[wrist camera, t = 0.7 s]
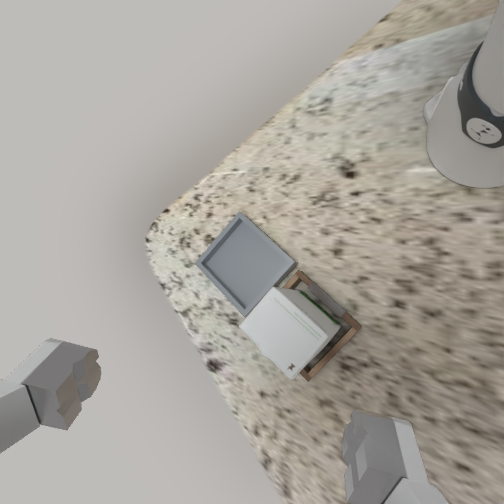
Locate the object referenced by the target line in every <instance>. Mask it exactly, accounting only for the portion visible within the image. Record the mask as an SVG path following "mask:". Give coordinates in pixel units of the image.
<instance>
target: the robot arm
mask: <svg viewBox="0 0 504 504" xmlns="http://www.w3.org/2000/svg"><path fill="white" fill-rule="evenodd" d="M458 72H459V73H458V74H457V75H456V76H455V77H451V78H450V79H449V80H448V81H447V83H446V85H445V87H444V89H443V90H441V91H440V92H439V93H437V94H436V95H435V96H434V97H432V98H431V99H430V100H429V101H428V102H427V103H426V105H425V106H424V109H423V113H424V117H425V120H426V122H427V124H428V133H427V151H428V154H429V157H430V159H431V161H432V163H433V164H434V166H435V167H436V168H437V169H438V171H439V172H441V173H442V174H443V175H444V176H446V177H447V178H449V179H450V180H452V181H454V182H456V183H459V184H462V185H465V186H470V187H476V188H492V187H499V186H504V0H499V1H498V5H497V8H496V11H495V14H494V17H493V19H492V22H491V25H490V27H489V30H488V32H487V35H486V37H485V40H484V41H483V42H482V43H481V44H480V45H479V47H478V48H477V49H476V51H475V52H474V54H473V56H472V57H471V58H470V60H469V61H468V62H465V63H464V64H463V65H462V66H461V67H460V69H459V70H458ZM98 357H99V356H98V351H97V350H96V349H92V348H88V347H84V346H80V345H76V344H72V343H68V342H65V341H60V340H56V339H52V338H50V339H48V340H46V341H44V342H43V343H42V344H41V345H40V346H39V347H38V348H37V349H36V350H35V351H34V352H33V353H31V354H30V355H29V356H28V357H27V358H26V359H25V360H24V361H23V362H22V363H21V364H20V365H19V366H18V367H17V368H16V369H15V370H14V371H13V372H12V373H11V374H10V375H9V376H8V377H6V378H5V379H4V380H2V379H0V453H1V452H3V451H5V450H6V449H7V448H9V447H10V446H12V445H13V444H15V443H16V442H18V441H19V440H21V439H22V438H24V437H25V436H26V435H28V434H29V433H31V432H32V431H34V430H35V429H37V428H38V427H40V424H41V425H45V426H50V427H54V428H59V429H63V430H68V428H69V427H70V425H71V424H72V423H73V421H74V420H75V418H76V417H77V416H78V414H79V413H80V411H81V410H82V407H81V406H82V402H83V401H84V400H86V399H88V398H89V397H91V396H92V394H93V393H94V391H95V390H96V388H97V386H98V383H99V381H100V377H101V367H100V366H99V365H98V363H97V362H96V360H97V359H98ZM351 421H352V422H351V423H349V424H347V425H346V427H345V430H344V433H343V439H342V454H343V459H344V461H345V462H346V464H347V466H348V469H347V471H346V473H345V475H344V477H345V488H346V498H347V502H349V503H353V504H449V502H448V501H447V500H446V499H445V497H444V496H443V495H442V494H441V492H440V491H439V490H438V489H437V487H436V486H434V485H430V484H429V481H428V477H427V474H426V471H425V467H424V464H423V461H422V458H421V454H420V451H419V448H418V445H417V441H416V438H415V435H414V431H413V428H412V425H411V424H410V422H409V421H407V420H403V419H398V418H394V417H389V416H387V415H383V414H378V413H373V412H369V411H364V410H359V409H355V410H354V411H353V413H352V415H351Z"/></svg>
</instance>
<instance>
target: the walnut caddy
mask: <svg viewBox="0 0 504 504" xmlns="http://www.w3.org/2000/svg"><path fill="white" fill-rule="evenodd" d="M301 280H302V281H303V282H304V283H305V284H306V285H307V286H308V289H309V290H310V291H311V292H312V293H313V294H315V295H316V296H317V297H318V298H319V299H320V300H321V301H322V302H323V303H324V304H325V305H326V306H327V307H328V308H330V309H331V310H332V311H333V312H334V313H335V314H336V315H337V316H338V317H339V318H340V317H342V318H343V319H344V320H345V321H346V322H347V323H348V324H349V325H350V326H352V327H351V328H350V329H349V330H348V331H347V332H346V333H345V334H344V335H343V336H342V337H341V338H340V340H339V341H338V342H337V343H336V344H335V345H334V346H333V347H332V348H331V349H330V350H329V351H328V352H327V353H326V354H325V355H324V356H323V357H322V358H321V359H320V360H319V361H318V362H317V363H316V364H315V365H314V366H313V367H312V369H311V368H310V367H309V366H308V365H306V366H305V367H304V368H303V369H302V370H301V371H300V372H299V373H300V374H301V375H302V376H303V377H304V378H305V379H306V380H307V381H308V382H309V381H310V380H311V378H312V377H313V376H314V375H315V374H316V373H317V372H318V371H319V370H320V369H321V368H322V367H323V366H324V365H325V364H326V363H327V362H328V361H329V360H330V359H331V358H332V357H333V356H334V355H335V354H336V353H337V352H338V351H339V350H340V349H341V348H342V347H343V346H344V344H345V343H346V342H347V341H348V340H349V339H350V338H351V337H352V336H353V335H354V334H355V333H356V332H357V331H358V330H359V329H360V328H361V325H360V324H359V323H358V322H357V321H356V320H354V319H353V318H352V317H351V316H350V315H349V314H348V313H347V312H346V311H345V310H344V309H343V308H342V307H341V306H339V305H338V304H337V303H336V302H335V301H334V300H333V299H332V298H331V297H330V296H328V295H327V294H326V293H325V292H324V291H323V290H322V289H321V288H320V287H319V286H318V285H316V284H315V283H314V282H313V281H312V280H311V279H310V278H309V277H307V276H306V275H305V274H304V273H303V272H302V271H300V270H298V271H297V272H296V273H295V275H294V276H293V277H292V278H291V279H290V280H289V281H288V282H287V283H286V284H285V286H284V287H283V288H285V289H292V290H293V289H294V288H295V287H296V286H297V284H298V283H299V282H300V281H301Z"/></svg>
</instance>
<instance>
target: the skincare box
mask: <svg viewBox="0 0 504 504" xmlns="http://www.w3.org/2000/svg"><path fill="white" fill-rule="evenodd" d="M341 327H342V325H341V324H340V323H339V322H337V321H336V320H335V319H334V318H333V317H332V316H331V315H329V314H328V313H327V312H326V311H325V310H324V309H322V308H321V307H320V306H319V305H318V304H317V303H315V302H314V301H313V300H312V299H311V298H310V297H309V296H307V295H306V294H305V293H304V292H303V291H300V290H292V289H285V288H277V287H272V288H271V289H270V290H269V291H268V292H267V294H266V295H265V296H264V297H263V298H262V299H261V301H260V302H259V303H258V304H257V305H256V306H255V308H254V309H253V310H252V311H251V312H250V314H249V315H248V316H247V317H246V318H245V320H244V321H243V322H242V323H241V324H240V326H239V328H240V329H241V330H242V331H243V332H244V333H245V334H246V335H247V336H248V337H249V338H250V339H251V340H252V341H253V343H254V344H255V345H256V346H257V347H258V348H259V350H260V352H261V353H262V354H263V355H264V356H265V357H267V358H269V359H270V360H271V361H272V362H273V363H274V364H275V365H276V366H277V367H278V368H279V369H280V370H281V371H282V372H283V373H284V374H285V375H286V376H287V377H288V378H289V379H290V380H293V379H294V378H295V377H296V376H297V375H298V373H299V372H300V371H301V370H302V369H303V368H304V367H305V366H306V365H307V364H308V363H309V362H310V361H311V360H312V359H313V358H314V357H315V356H316V355H317V354H318V353H319V352H320V351H321V350H322V349H323V348H324V347H325V346H326V345H327V344H328V343H329V341H330V340H331V339H332V338H333V337H334V336H335V334H336V333H337V332H338V331H339V329H340V328H341Z"/></svg>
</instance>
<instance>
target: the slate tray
mask: <svg viewBox="0 0 504 504" xmlns="http://www.w3.org/2000/svg"><path fill="white" fill-rule="evenodd" d="M195 264H196V265H197V266H198V267H199V268H200V269H201V271H202V272H203V273H204V274H205V275H206V276H207V277H208V278H209V279H210V280H211V281H212V282H213V283H214V285H215V286H216V287H217V288H218V289H219V290H220V291H221V292H222V293H223V294H224V295H225V296H226V297H227V299H228V300H229V301H230V302H231V303H232V304H233V305H234V306H235V307H236V308H237V309H238V310H239V311H240V313H241V314H242V315H243V316H244V317H247V316H248V315H249V314H250V312H251V311H252V310H253V309H254V308H255V306H256V305H257V304H258V303H259V302H260V301H261V299H262V298H263V297H264V296H265V295H266V294H267V292H268V291H269V290H270V289H271V288H272V287H277V286H278V285H279V284H280V283H281V282H282V280H283V279H284V278H285V277H286V276H287V275H288V274H289V273H290V272H291V271H292V269H293V268H294V267H295V266H296V265H297V264H298V263H297V262H296V261H295V260H293V259H292V258H291V257H290V256H289V255H288V254H287V253H286V252H285V251H284V250H282V249H281V248H280V247H279V246H278V245H277V244H276V243H275V242H274V241H273V240H271V239H270V238H269V237H268V236H267V235H266V234H265V233H264V232H263V231H262V230H260V229H259V228H258V227H257V226H256V225H255V224H254V223H253V222H252V221H251V220H249V219H248V218H247V217H246V216H245V215H244V214H242V213H241V212H240V211H239V212H238V213H237V215H236V216H235V217H234V218H233V219H232V220H231V222H230V223H229V224H228V225H227V226H226V228H225V229H224V230H223V231H222V232H221V233H220V235H219V236H218V237H217V238H216V239H215V240H214V242H213V243H212V244H211V245H210V246H209V247H208V249H207V250H206V251H205V252H204V253H203V254H202V256H201V257H200V258H199V259H198V260H197V261H196V263H195Z"/></svg>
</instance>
